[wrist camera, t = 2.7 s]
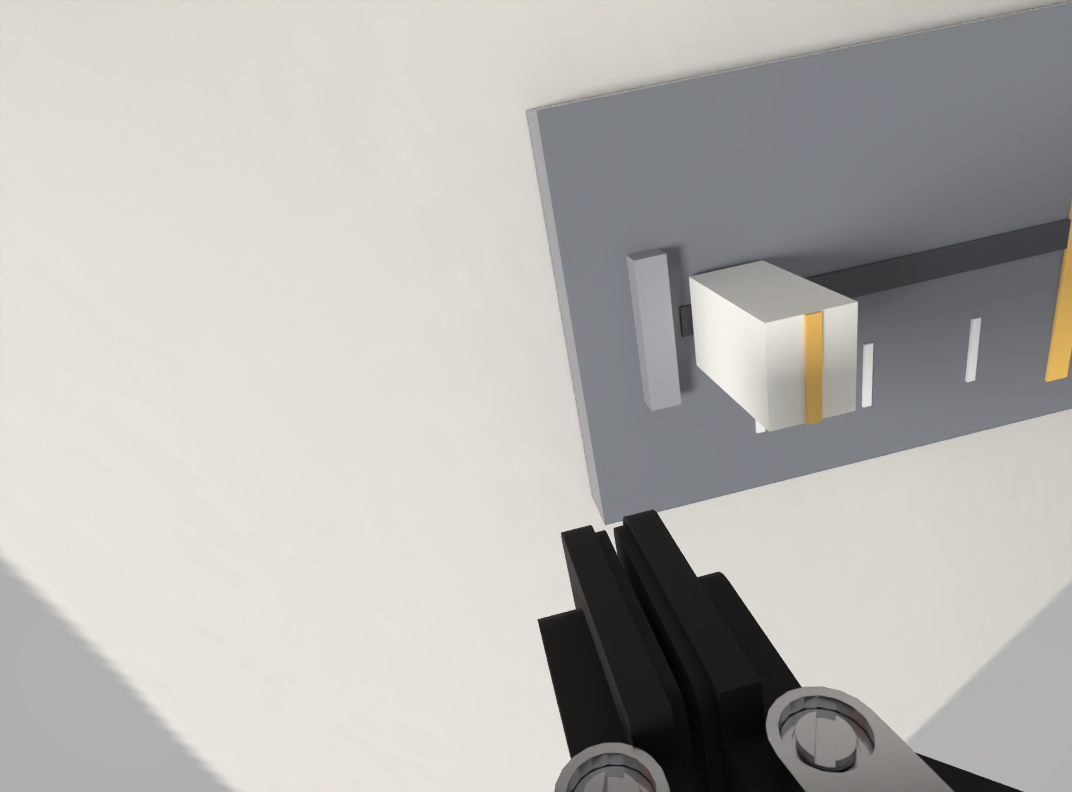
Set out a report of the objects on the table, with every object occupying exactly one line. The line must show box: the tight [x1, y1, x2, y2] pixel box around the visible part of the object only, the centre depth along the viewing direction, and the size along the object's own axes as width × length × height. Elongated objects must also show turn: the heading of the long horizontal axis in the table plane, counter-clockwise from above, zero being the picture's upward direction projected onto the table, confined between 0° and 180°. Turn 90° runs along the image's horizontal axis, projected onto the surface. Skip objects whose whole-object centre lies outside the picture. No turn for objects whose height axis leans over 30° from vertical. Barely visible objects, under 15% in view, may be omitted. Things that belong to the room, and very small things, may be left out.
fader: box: [689, 260, 858, 432], centre depth 19 cm, size 3×2×5 cm
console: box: [526, 1, 1072, 525], centre depth 23 cm, size 14×30×3 cm, turn 100°
